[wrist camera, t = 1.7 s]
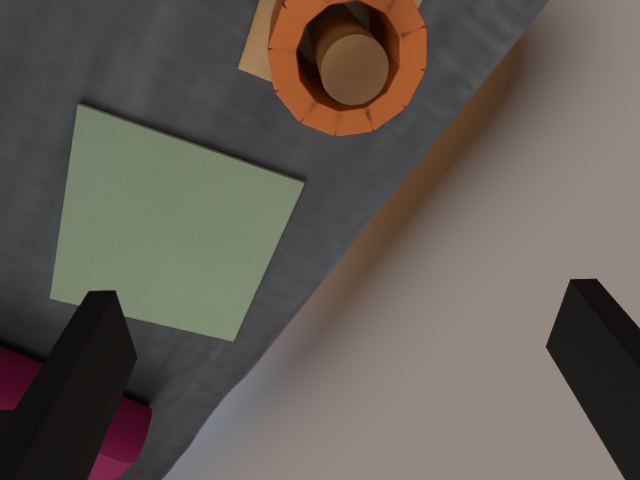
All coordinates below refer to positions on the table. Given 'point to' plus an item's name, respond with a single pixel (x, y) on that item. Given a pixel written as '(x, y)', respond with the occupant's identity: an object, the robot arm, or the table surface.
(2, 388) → the book
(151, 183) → the mat
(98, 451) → the robot arm
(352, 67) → the peg stand
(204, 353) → the table surface
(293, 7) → the orange hollow tube
